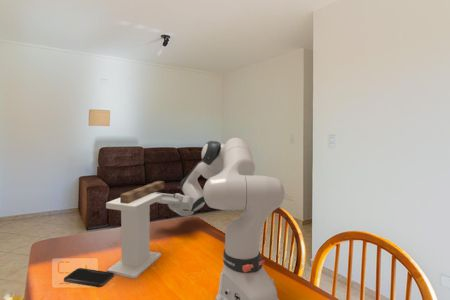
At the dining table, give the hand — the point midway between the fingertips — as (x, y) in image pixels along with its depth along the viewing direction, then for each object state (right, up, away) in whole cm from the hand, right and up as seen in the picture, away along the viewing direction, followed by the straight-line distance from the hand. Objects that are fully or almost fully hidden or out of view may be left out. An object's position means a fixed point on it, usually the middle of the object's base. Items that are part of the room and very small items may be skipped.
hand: (165, 194), depth 125 cm
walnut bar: (-5, +3, -17) cm, 17 cm away
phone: (-20, -25, -31) cm, 44 cm away
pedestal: (-7, -24, -20) cm, 32 cm away
